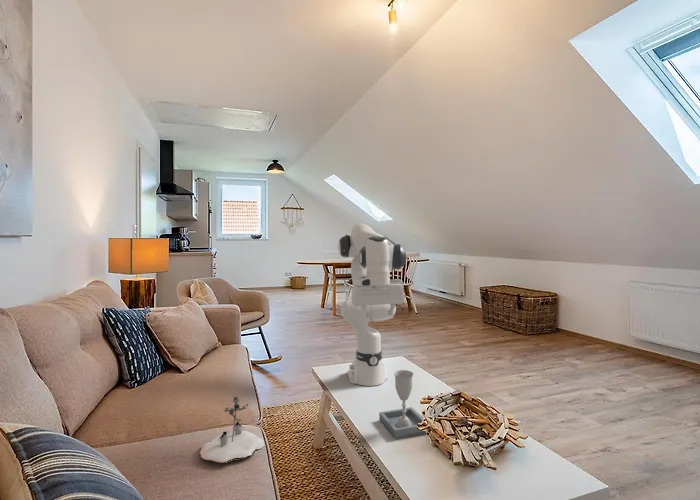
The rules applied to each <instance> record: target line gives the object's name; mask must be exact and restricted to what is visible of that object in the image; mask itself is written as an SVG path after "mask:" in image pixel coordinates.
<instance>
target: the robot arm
mask: <svg viewBox="0 0 700 500" xmlns="http://www.w3.org/2000/svg"><path fill="white" fill-rule="evenodd" d="M337 250H338V252H339V254H340V256H341V257H342V258H343V257H344V258H350V257H351V258H352V260H351V265H350V272H351V273H350V274H351V280H352V290H351V298H349V299H346V300H344V301H343V302H342V304H341V307H340V314H341V317H342V318H343V320H345V322H347V323H348V324H350V325H351V326H352V328H353V329H354V332H355V335H356V348H357V349H356V352H355V358H354V360H352V362H351V364H350V365H349V370H347V371H346V372H347V376H348V377H347V378H348V381H349V383H350V384H351V385H352V384H353V385H354V384H355V385H359V386H363V387H365V386H366V387H374V386H379V385H382V384H384V383H385V382H386V381H387V380H388V379H389V375H387V374H386V373H387V372H386V363H385V360H383V359H382V358H383V351H382V339H381V338H382V336H381V333H380V332H379V331H378V330H377V329H375V328H373V327H370V326H369V322H378V321H379V322H382V321H386V320H390V319H393V318H394V316H395V314H396V311H397V307H396V306H397V305H396V304H403V303H404V301H405V294H404V281H403V280H402V279H400V278H395V279H394V278H391V277H390V274H391V273H390V272H391V271H390V270H401V268H403V267H404V266H405V264H406V262H407V251H406V250H405V248H404V247H403V246H402V245H401V244H398V243H397V244H396V243H395V242H394V241H392V240H391V239H389V238H388V237H387V236H385V235H382V234H381V233H378V232H376V231H374V229H373V228H372V227H371V226H370V225H368V224H365V223H363V222H359V223H356V224H355V225H354V226H353V227H352V229H351V231H350V234H349V235H348V234H345V235H344V236H342V237H340V238H339V241H338V244H337Z"/></svg>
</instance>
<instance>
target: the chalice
mask: <svg viewBox="0 0 700 500" xmlns="http://www.w3.org/2000/svg"><path fill="white" fill-rule="evenodd" d="M393 374H394V377H395V380H394V381H395V382H394V384H395V385H394V387H395V390H396V393H397V395H398V397H399V399H400V401H402V404H401V407H402V408H401V409H402V412H403V416H401V417H400V418H399V420H398V423H397V425H398V426H399V427H407V426H411V423H410V420H409V418H408V417H406V415H405V413H406V409H405V408H407V404H406V401H407V400H409V398H410V396H411V393H412V389H413V376H414V372H412V371H410V370H406V369H400V370H396V371H394V373H393Z"/></svg>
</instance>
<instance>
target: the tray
mask: <svg viewBox="0 0 700 500" xmlns="http://www.w3.org/2000/svg"><path fill="white" fill-rule="evenodd" d="M402 409H403V408H398V409H391V410H385V411H379V413H378V414H379V418H378V419H379V421H380V423H381V424H382V426H384V428H385V429H386V430H387V431H388V433H389V434H390V435H391V436H392V438H393V439H394V440H399V439H406V438H409V437H410V438H412V437H417V436H420V435H421V436H422V435H427V434H426V431H420V430H418V429H417V424H418V423H421V422H422V421H423V418H424V417H423V416H421V414H420V413H419V412H418V411H416V410H415V409H414V408H413V407H412V406H411V407H405V409H406V413H405V415H406V417H408V418H409V420H410V423H411V426H407V427H399V426H398V425H397V423H398V420H399V418H400V417H401V416H403V412H402Z"/></svg>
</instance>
